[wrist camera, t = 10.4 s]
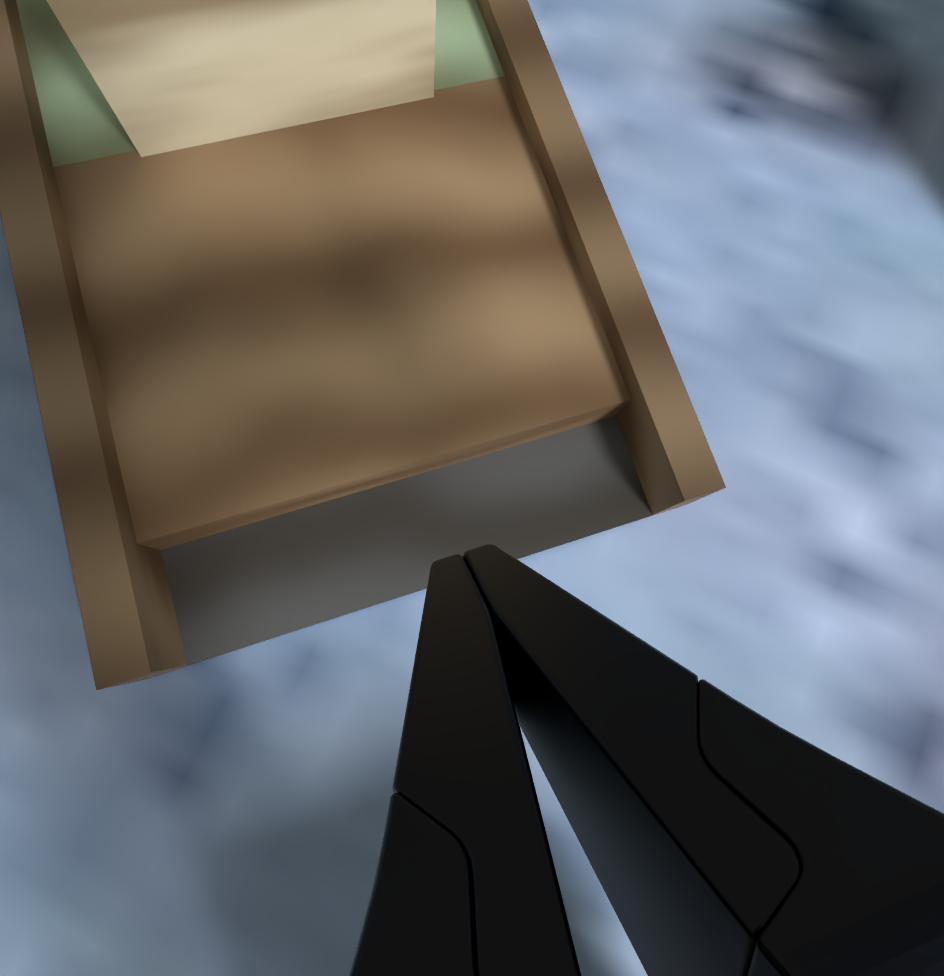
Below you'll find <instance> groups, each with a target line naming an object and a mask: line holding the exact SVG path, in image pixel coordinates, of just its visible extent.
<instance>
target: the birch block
mask: <svg viewBox="0 0 944 976" xmlns="http://www.w3.org/2000/svg"><path fill="white" fill-rule="evenodd" d="M46 1H47V2H48V4H49V6H50V7H51V9H52V11H53V12H54V14H55V16H56V17H57V19H58V20H59V22H60V24H61V25H62V27H63V29H64V30H65V32H66V34H67V35H68V37H69V39H70V40H71V42H72V44H73V45H74V47H75V49H76V50H77V52H78V54H79V55H80V57H81V58H82V60H83V62H84V63H85V65H86V67H87V68H88V70H89V72H90V73H91V75H92V77H93V78H94V80H95V82H96V83H97V85H98V87H99V88H100V90H101V91H102V93H103V95H104V96H105V98H106V100H107V101H108V103H109V105H110V106H111V108H112V110H113V111H114V113H115V115H116V116H117V118H118V120H119V121H120V123H121V125H122V126H123V128H124V129H125V131H126V133H127V134H128V136H129V138H130V139H131V141H132V143H133V144H134V146H135V148H136V149H137V151H138V153H139V154H140V156H141V157H145V156H150V155H155V154H159V153H164V152H169V151H174V150H179V149H184V148H189V147H193V146H198V145H203V144H208V143H213V142H218V141H223V140H228V139H232V138H237V137H242V136H247V135H252V134H257V133H262V132H266V131H271V130H276V129H281V128H286V127H291V126H296V125H300V124H305V123H310V122H315V121H320V120H325V119H330V118H335V117H339V116H344V115H349V114H354V113H359V112H364V111H369V110H373V109H378V108H383V107H388V106H393V105H398V104H403V103H407V102H412V101H417V100H422V99H427V98H432V97H434V66H435V26H436V0H46Z"/></svg>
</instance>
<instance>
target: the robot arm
mask: <svg viewBox="0 0 944 976" xmlns="http://www.w3.org/2000/svg"><path fill="white" fill-rule="evenodd" d="M519 725H520V726H519ZM520 727H521V729H522V731H523V733H524V735H525V737H526V739H527V740H528V742H529V744H530V746H531V748H532V750H533V752H534V754H535V756H536V758H537V760H538V762H539V764H540V766H541V768H542V770H543V772H544V774H545V776H546V778H547V780H548V782H549V783H550V785H551V787H552V789H553V791H554V793H555V795H556V797H557V799H558V801H559V803H560V805H561V807H562V809H563V811H564V813H565V815H566V817H567V819H568V821H569V823H570V824H571V826H572V828H573V830H574V832H575V834H576V836H577V838H578V840H579V842H580V844H581V846H582V848H583V850H584V852H585V854H586V856H587V858H588V860H589V862H590V864H591V866H592V867H593V869H594V871H595V873H596V875H597V877H598V879H599V881H600V883H601V885H602V887H603V889H604V891H605V893H606V895H607V897H608V899H609V901H610V903H611V905H612V907H613V908H614V910H615V912H616V914H617V916H618V918H619V920H620V922H621V924H622V926H623V928H624V930H625V932H626V934H627V936H628V938H629V940H630V942H631V944H632V946H633V948H634V949H635V951H636V953H637V955H638V957H639V959H640V961H641V963H642V965H643V967H644V969H645V971H646V973H647V975H648V976H944V813H942V812H940V811H938V810H936V809H934V808H932V807H930V806H928V805H926V804H924V803H922V802H920V801H919V800H917V799H915V798H913V797H911V796H909V795H907V794H905V793H903V792H901V791H899V790H897V789H895V788H894V787H892V786H890V785H888V784H886V783H884V782H882V781H880V780H878V779H876V778H874V777H872V776H871V775H869V774H867V773H865V772H863V771H861V770H859V769H857V768H855V767H853V766H851V765H849V764H847V763H846V762H844V761H842V760H840V759H838V758H836V757H834V756H832V755H830V754H829V753H827V752H825V751H823V750H821V749H820V748H818V747H816V746H814V745H812V744H810V743H809V742H807V741H805V740H803V739H801V738H799V737H798V736H796V735H794V734H792V733H790V732H789V731H787V730H785V729H783V728H781V727H779V726H778V725H776V724H774V723H773V722H771V721H770V720H768V719H766V718H765V717H763V716H761V715H760V714H758V713H756V712H755V711H753V710H751V709H750V708H748V707H747V706H745V705H743V704H742V703H740V702H738V701H737V700H735V699H733V698H732V697H730V696H729V695H727V694H726V693H724V692H723V691H721V690H719V689H718V688H716V687H715V686H713V685H712V684H710V683H709V682H707V681H706V680H703V679H702V680H700V681H699V682H698V677H697V675H696V674H694V673H693V672H691V671H690V670H688V669H686V668H685V667H683V666H682V665H680V664H679V663H677V662H676V661H674V660H672V659H671V658H669V657H668V656H666V655H665V654H663V653H662V652H660V651H658V650H657V649H655V648H654V647H652V646H651V645H649V644H648V643H646V642H644V641H643V640H641V639H640V638H638V637H637V636H635V635H634V634H632V633H630V632H629V631H627V630H626V629H624V628H623V627H621V626H620V625H618V624H616V623H615V622H613V621H612V620H610V619H609V618H607V617H606V616H604V615H603V614H601V613H599V612H598V611H596V610H595V609H593V608H592V607H590V606H589V605H587V604H585V603H584V602H582V601H581V600H579V599H578V598H576V597H575V596H573V595H571V594H570V593H568V592H567V591H565V590H564V589H562V588H561V587H559V586H557V585H556V584H554V583H553V582H551V581H550V580H548V579H547V578H545V577H543V576H542V575H540V574H539V573H537V572H536V571H534V570H533V569H531V568H529V567H528V566H526V565H525V564H523V563H522V562H520V561H519V560H517V559H515V558H514V557H512V556H511V555H509V554H508V553H506V552H505V551H503V550H502V549H500V548H498V547H497V546H495V545H493V544H486V545H483V546H480V547H477V548H473V549H470V550H467V551H465V553H464V555H463V556H462V555H460V554H455V555H451V556H448V557H445V558H442V559H439V560H436V561H434V562H433V563H432V565H431V568H430V574H429V580H428V586H427V591H426V597H425V603H424V609H423V615H422V620H421V626H420V632H419V638H418V644H417V650H416V655H415V661H414V667H413V673H412V679H411V684H410V690H409V696H408V702H407V708H406V713H405V719H404V725H403V731H402V737H401V742H400V748H399V754H398V760H397V766H396V772H395V777H394V783H393V791H394V794H392V796H391V798H390V804H389V810H388V816H387V821H386V827H385V833H384V838H383V842H382V847H381V852H380V857H379V862H378V867H377V872H376V877H375V881H374V886H373V890H372V894H371V898H370V902H369V906H368V909H367V913H366V917H365V921H364V925H363V928H362V932H361V936H360V940H359V944H358V947H357V951H356V955H355V958H354V962H353V965H352V969H351V972H350V975H349V976H581V972H580V968H579V964H578V960H577V956H576V952H575V948H574V944H573V940H572V936H571V932H570V928H569V924H568V920H567V916H566V912H565V908H564V903H563V899H562V895H561V891H560V887H559V883H558V879H557V875H556V871H555V867H554V863H553V859H552V855H551V851H550V847H549V843H548V839H547V835H546V831H545V827H544V823H543V819H542V815H541V811H540V807H539V802H538V798H537V794H536V790H535V786H534V782H533V778H532V774H531V770H530V766H529V762H528V758H527V754H526V750H525V746H524V742H523V738H522V734H521V730H520Z"/></svg>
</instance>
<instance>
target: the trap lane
mask: <svg viewBox="0 0 944 976" xmlns="http://www.w3.org/2000/svg"><path fill="white" fill-rule="evenodd" d="M0 214H1V219H2V224H3V229H4V233H5V238H6V243H7V248H8V253H9V258H10V263H11V268H12V273H13V278H14V283H15V288H16V293H17V298H18V303H19V308H20V313H21V318H22V323H23V328H24V333H25V338H26V343H27V348H28V353H29V358H30V362H31V367H32V372H33V377H34V382H35V387H36V392H37V397H38V402H39V407H40V412H41V417H42V422H43V427H44V432H45V437H46V442H47V447H48V452H49V457H50V462H51V467H52V472H53V477H54V482H55V487H56V491H57V496H58V501H59V506H60V511H61V516H62V521H63V526H64V531H65V536H66V541H67V546H68V551H69V556H70V561H71V566H72V571H73V576H74V581H75V586H76V591H77V596H78V601H79V606H80V611H81V616H82V620H83V625H84V630H85V635H86V640H87V645H88V650H89V655H90V660H91V665H92V670H93V675H94V680H95V685H96V690H98V689H103V688H108V687H112V686H117V685H121V684H126V683H130V682H135V681H139V680H144V679H147V678H150V677H153V676H156V675H159V674H162V673H165V672H169V671H172V670H175V669H178V668H181V667H184V666H187V665H190V664H193V663H196V662H200V661H203V660H206V659H209V658H212V657H215V656H218V655H221V654H224V653H227V652H231V651H234V650H237V649H240V648H243V647H246V646H249V645H252V644H255V643H258V642H262V641H265V640H268V639H271V638H274V637H277V636H280V635H283V634H286V633H289V632H293V631H296V630H299V629H302V628H305V627H308V626H311V625H314V624H317V623H320V622H324V621H327V620H330V619H333V618H336V617H339V616H342V615H345V614H348V613H351V612H355V611H358V610H361V609H364V608H367V607H370V606H373V605H376V604H379V603H382V602H386V601H389V600H392V599H395V598H398V597H401V596H404V595H407V594H410V593H413V592H417V591H420V590H423V589H426V588H427V586H428V580H429V574H430V568H431V565H432V563H433V562H434V561H436V560H439V559H442V558H445V557H448V556H451V555H455V554H460V555H462V556H463V555H464V553H465V551H467V550H470V549H473V548H477V547H480V546H483V545H486V544H493V545H495V546H497V547H498V548H500V549H502V550H503V551H505V552H506V553H508V554H509V555H511V556H512V557H514V558H515V559H519V558H522V557H525V556H528V555H531V554H534V553H537V552H541V551H544V550H547V549H550V548H553V547H556V546H559V545H562V544H565V543H568V542H572V541H575V540H578V539H581V538H584V537H587V536H590V535H593V534H596V533H599V532H602V531H606V530H609V529H612V528H615V527H618V526H621V525H624V524H627V523H630V522H633V521H637V520H640V519H643V518H646V517H649V516H652V515H655V514H658V513H661V512H664V511H668V510H671V509H674V508H677V507H680V506H683V505H686V504H689V503H691V502H693V501H696V500H698V499H700V498H703V497H705V496H707V495H710V494H712V493H714V492H717V491H719V490H721V489H724V488H726V487H725V484H724V482H723V479H722V477H721V474H720V472H719V469H718V467H717V464H716V462H715V460H714V457H713V455H712V452H711V450H710V447H709V445H708V442H707V440H706V437H705V435H704V433H703V430H702V428H701V425H700V423H699V420H698V418H697V415H696V413H695V411H694V408H693V406H692V403H691V401H690V398H689V396H688V393H687V391H686V388H685V386H684V384H683V381H682V379H681V376H680V374H679V371H678V369H677V366H676V364H675V361H674V359H673V357H672V354H671V352H670V349H669V347H668V344H667V342H666V339H665V337H664V334H663V332H662V330H661V327H660V325H659V322H658V320H657V317H656V315H655V312H654V310H653V307H652V305H651V303H650V300H649V298H648V295H647V293H646V290H645V288H644V285H643V283H642V281H641V278H640V276H639V273H638V271H637V268H636V266H635V263H634V261H633V258H632V256H631V254H630V251H629V249H628V246H627V244H626V241H625V239H624V236H623V234H622V231H621V229H620V227H619V224H618V222H617V219H616V217H615V214H614V212H613V209H612V207H611V204H610V202H609V200H608V197H607V195H606V192H605V190H604V187H603V185H602V182H601V180H600V177H599V175H598V173H597V170H596V168H595V165H594V163H593V160H592V158H591V155H590V153H589V150H588V148H587V146H586V143H585V141H584V138H583V136H582V133H581V131H580V128H579V126H578V124H577V121H576V119H575V116H574V114H573V111H572V109H571V106H570V104H569V101H568V99H567V97H566V94H565V92H564V89H563V87H562V84H561V82H560V79H559V77H558V74H557V72H556V70H555V67H554V65H553V62H552V60H551V57H550V55H549V52H548V50H547V47H546V45H545V43H544V40H543V38H542V35H541V33H540V30H539V28H538V25H537V23H536V20H535V18H534V16H533V13H532V11H531V8H530V6H529V3H528V1H527V0H436V26H435V66H434V97H432V98H427V99H422V100H417V101H412V102H407V103H403V104H398V105H393V106H388V107H383V108H378V109H373V110H369V111H364V112H359V113H354V114H349V115H344V116H339V117H335V118H330V119H325V120H320V121H315V122H310V123H305V124H300V125H296V126H291V127H286V128H281V129H276V130H271V131H266V132H262V133H257V134H252V135H247V136H242V137H237V138H232V139H228V140H223V141H218V142H213V143H208V144H203V145H198V146H193V147H189V148H184V149H179V150H174V151H169V152H164V153H159V154H155V155H150V156H145V157H141V156H140V154H139V153H138V151H137V149H136V148H135V146H134V144H133V143H132V141H131V139H130V138H129V136H128V134H127V133H126V131H125V129H124V128H123V126H122V125H121V123H120V121H119V120H118V118H117V116H116V115H115V113H114V111H113V110H112V108H111V106H110V105H109V103H108V101H107V100H106V98H105V96H104V95H103V93H102V91H101V90H100V88H99V87H98V85H97V83H96V82H95V80H94V78H93V77H92V75H91V73H90V72H89V70H88V68H87V67H86V65H85V63H84V62H83V60H82V58H81V57H80V55H79V54H78V52H77V50H76V49H75V47H74V45H73V44H72V42H71V40H70V39H69V37H68V35H67V34H66V32H65V30H64V29H63V27H62V25H61V24H60V22H59V20H58V19H57V17H56V16H55V14H54V12H53V11H52V9H51V7H50V6H49V4H48V2H47V1H46V0H0Z"/></svg>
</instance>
